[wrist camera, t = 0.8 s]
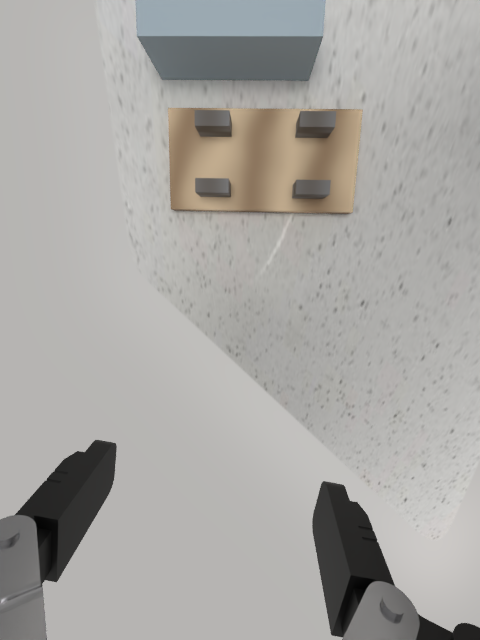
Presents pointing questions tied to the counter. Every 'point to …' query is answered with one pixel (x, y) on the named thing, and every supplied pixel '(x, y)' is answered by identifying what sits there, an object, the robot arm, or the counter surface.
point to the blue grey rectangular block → (231, 38)
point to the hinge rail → (263, 159)
